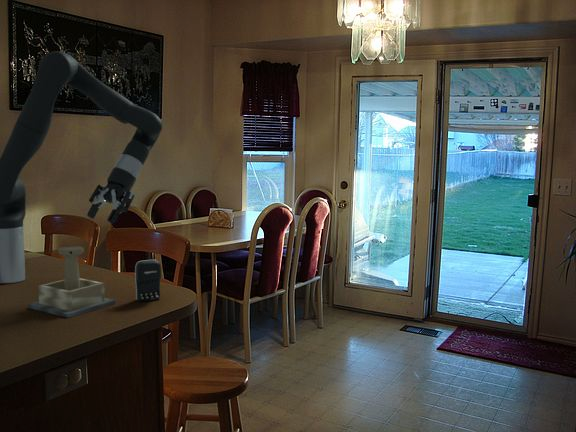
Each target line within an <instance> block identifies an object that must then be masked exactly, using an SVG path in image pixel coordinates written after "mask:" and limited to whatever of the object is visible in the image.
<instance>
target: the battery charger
mask: <svg viewBox="0 0 576 432" xmlns="http://www.w3.org/2000/svg"><path fill="white" fill-rule="evenodd" d="M134 266H135V267H134V268H135V269H134V277H135V278H134V280H135V300H136V301H139V302H149V301H156V300H159V299H160V298H161V293H160V290H161V289H160V285H161V279H162V265H161V263H160V262H159V261H158V260H157V259H146V260H139V261H137V262H136V264H135V265H134Z"/></svg>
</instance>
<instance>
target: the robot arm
mask: <svg viewBox="0 0 576 432" xmlns="http://www.w3.org/2000/svg"><path fill="white" fill-rule="evenodd" d="M64 85H67V86H69V87H71V88H73V89H75V90H77V91H79V92H80V93H81V94H83V95H84V96H86V97H87V98H89V99H90V100H91V101H92V102H93V103H94V104H96V105H97V106H98V107H99V108H100V109H101V110H102V111H103V112H105V113H106V114H108V115H109V116H111V117H112V118H114V119H115V120H116V121H118V122H120V123H121V124H124V125H125V124H129V125H131V126H133V127H135V128H136V130H135V132H134V134H133V136H132V137H131V140H130V141H129V142H128V143H127V145H126V146H125V148H124V150H123V151H122V153H121V155H120V156H119V158H118V159H117V161H116V162H115V163H114V166H113V168H112V169H111V171H110V173H109V175H108V177H107V181H106V182H107V184H106V186H103V185H101V184H97V186H96V187H95V189H94V191H93V192H92V194H91V195H90V197H89V198H88V202H89V203H90V204H91V206H90V208H89V210H88V212H87V215H86V216H87V217H89V219H91V220H92V219H94V220H95V217H96V215H97V214H98V211H99V210H100V208H101V207H102V206H103V205H107V204H112V205H113V209H111V212H110V214H109V215H108V217H107V220H106V221H107V222H108V223H109V224H111V225H112V224H114V223H115V222H116V221H117V219H118V218H119V216H120V214H122V213H127V212H128V210H129V209H130V206H131V204H132V202H133V200H134V198H135V194H134V193H133V192H131V191H132V188H133V187H134V186H135V183H136V181H137V180H138V178H139V175H140V174H141V171H142V168H143V166H144V164H145V163H146V161H147V159H148V157H149V154H150V152H151V150H152V149H153V147H154V145H155V143H156V142H157V141H158V139H159V137H160V135H161V132H162V130H163V122H162V120H161V118H160V117H159V116H158V115H157V114H156V113H154V112H152V111H151V110H148V109H146V108H144V107H141V106H139V105H136V104H135V103H133V102H132V101H131V100H129V99H128V98H126V97H125V96H123V95H122V94H121V93H119V92H117V91H116V90H114V89H113V88H111V87H110V86H108V85H107V84H105V83H103V82H102V81H101V80H99V79H98V78H96V77H95V76H94V75H92V74H91V73H90V72H89V71H88V70H87V69H85V68H84V67H83V66H82V64H80V63H79V62H78V61H77V59H75V58H74V57H73V56H72V55H70V54H69V53H67V52H64V51H57V50H56V51H55V50H54V51H50V52H48V53H46V54H45V55H44V56H43V57H42V58H41V60H40V63H39V67H38V69H37V72H36V76H35V79H34V82H33V85H32V88H31V90H30V92H29V95H28V96H27V98H26V100H25V103H24V105H23V107H22V109H21V111H20V113H19V116H18V117H17V119H16V121H15V124H14V126H13V128H12V131H11V133H10V136H9V138H8V141H7V142H6V144H5V147H4V149H3V151H2V153H1V156H0V284H12V283H18V282H23V281H24V280H26V265H25V263H26V262H25V238H24V237H25V236H24V235H25V234H24V220H25V217H26V207H27V206H26V205H27V204H26V201H27V199H26V198H27V197H26V196H27V195H26V188H25V184H24V182H23V180H22V179H20V178H19V177H20V174H21V172H22V170H23V169H24V168H25V166H26V165H27V164H28V162H29V161H30V160H31V159H32V158H33V157H34V156H35V155H36V154H37V153H38V152H39V150H40V149H41V147H42V145H44V144H43V143H44V142H45V140H46V137H47V135H48V133H49V130H50V128H51V124H52V119H53V113H54V108H55V107H54V106H55V103H56V100H57V99H58V97H59V94H60V93H61V90H63V89H62V88H63V87H64Z"/></svg>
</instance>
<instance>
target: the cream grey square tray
mask: <svg viewBox="0 0 576 432" xmlns="http://www.w3.org/2000/svg"><path fill="white" fill-rule="evenodd" d="M79 278H80V288H79V289H75V290H71V291H67V290H65V286H64V282H65V281H64V279H61V280H57V281H52V282H49V283H44V284H40V285H38V301H35V302H30V303H28V304H27V308H28V309H31V310H35V311H39V312H43V313H47V314H50V315H51V314H52V315H55V316H58V317H59V316H60V317H63V318H68V319H69V318H72V317H76V316H80V315H83V314H85V313H88V312H89V313H90V312H92V311H95V310H96V311H97V310H99V309H102V308H105V307H109V306H112V305H115V304H116V300H115V299H112V298H106V297H105V293H106V292H105V282H100V281H96V280H91V279H86V278H81V277H79Z"/></svg>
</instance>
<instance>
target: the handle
mask: <svg viewBox="0 0 576 432" xmlns="http://www.w3.org/2000/svg"><path fill="white" fill-rule="evenodd" d="M84 250H85V249H84V247H83V246H63V247H62V246H61V247H58V250H57V251H58V254H59V255H61V256H63V257H64V275H63V276H64V277H63V278H64V279H63V280H64V281H65V282H64V286H65V290H67V291H71V290H75V289H79V288H80V278H81V277H80V269H79V256H80V255H82V254H83V253H84Z"/></svg>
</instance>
